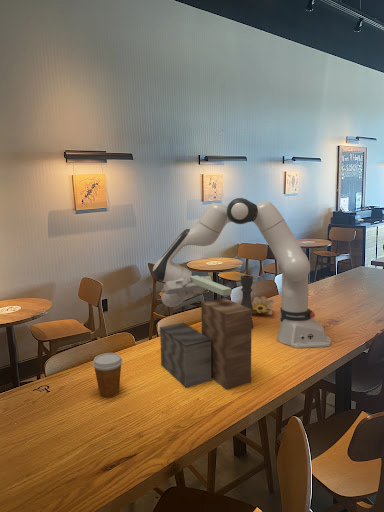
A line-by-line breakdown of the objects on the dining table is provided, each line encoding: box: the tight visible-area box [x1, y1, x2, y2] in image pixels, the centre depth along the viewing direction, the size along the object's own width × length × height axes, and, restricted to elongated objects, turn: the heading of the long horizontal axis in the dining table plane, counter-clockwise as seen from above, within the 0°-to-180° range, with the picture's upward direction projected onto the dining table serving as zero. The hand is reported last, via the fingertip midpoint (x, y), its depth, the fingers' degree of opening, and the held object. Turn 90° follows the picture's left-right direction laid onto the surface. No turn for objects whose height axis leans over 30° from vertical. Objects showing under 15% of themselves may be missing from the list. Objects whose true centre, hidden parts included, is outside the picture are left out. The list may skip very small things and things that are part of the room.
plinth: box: [200, 297, 253, 391], centre depth 134 cm, size 16×10×26 cm, turn 29°
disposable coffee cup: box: [92, 352, 123, 398], centre depth 125 cm, size 10×10×12 cm
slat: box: [189, 275, 232, 297], centre depth 140 cm, size 24×4×2 cm, turn 29°
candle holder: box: [240, 274, 254, 330], centre depth 182 cm, size 6×6×25 cm
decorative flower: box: [251, 296, 275, 316], centre depth 203 cm, size 15×11×10 cm
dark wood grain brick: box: [159, 322, 212, 388], centre depth 138 cm, size 20×10×15 cm, turn 29°
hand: (196, 278), depth 148 cm, fingers closed on slat, 3 cm apart
